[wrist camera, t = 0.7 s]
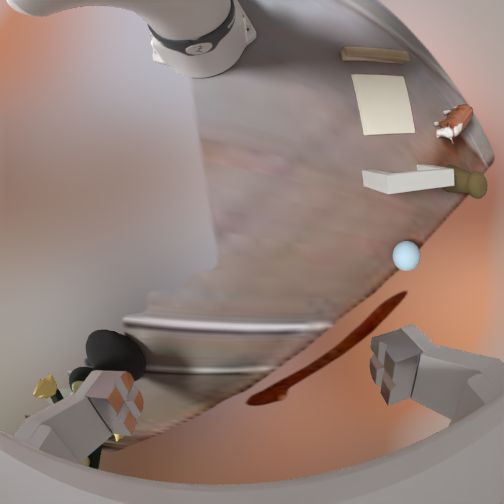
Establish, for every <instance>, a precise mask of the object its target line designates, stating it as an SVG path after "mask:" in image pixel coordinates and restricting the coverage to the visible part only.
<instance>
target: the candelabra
mask: <svg viewBox="0 0 504 504" xmlns="http://www.w3.org/2000/svg"><path fill="white" fill-rule="evenodd" d="M86 353H87V358H88V360H89V362H90V365H91V366H92V368H90V367H79V368H76V369H75V370H73V371H72V373H71V374H70V378H69V384H70V387H71V390H72V392H73V393H74V394H75V393H76V391H77V390H78V389H79V387H80V386H81V385H82V383H83V382H84V381H85V379H86V378H87V377H88V376H89V374H90V373H91V372H92V371H95V370H103V371H127V372H129V373H131V375H132V377H133V379H134V381H136V380H138V379H139V378H140V377H141V376H142V375H143V373H144V372H145V369H146V364H145V360H144V357H143V355H142V353H141V352H140V350H139V348H138V347H137V346H136V345H135V344H134V343H133V342H132V341H131V340H129V339H128V338H126V337H125V336H124V335H122V334H119V333H117V332H115V331H109V330H97V331H94V332H93V333H91V334H90V335H89V337H88V340H87V343H86ZM33 396H35V397H38V396H39V398H49V397H51V399H52V401H53V402H54V404H55V403H57V402H59V401H60V400H62V399H64V398H63V396H62V395H61V393H60V391H59V390H58V389H57V384H56V381H55V380H54V378H53V376H52V375H51V374H50V373H49V374H48V375H47V377H46V378H45V379H43V380H41V379H40V381H39V383H38V385H37V387H36V389H35V391H34V394H33ZM123 436H124V435H119V434H112V436H111V437H109V438H108V439H113V438H116V441H118V440H119V439H120V438H123ZM101 450H102V444H101V445H100V446H99V447H98V448H97V449H96V450H94V451H93V452H92V453H91V454H90V455H89V456H87V457H86V458H85V459H84V460H83V461H81V463H82V464H83V465H84V466H87V467H91V468H94V469H98V468H99V461H100V455H101Z"/></svg>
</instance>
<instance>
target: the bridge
mask: <svg viewBox="0 0 504 504" xmlns="http://www.w3.org/2000/svg"><path fill="white" fill-rule="evenodd" d="M362 174H363V182H364V186H365V187H368V188H371V189H374V190H377V191H380V192H383V193H386V194H394V193H401V192H409V191H416V190H423V189H431V188H439V187H447V186H455V185H454V169H451V168H445V167H439V166H433V165H426V164H420V165H417V171H410V172H401V173H389V172H384V171H379V170H373V169H369V170H362Z"/></svg>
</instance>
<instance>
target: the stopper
mask: <svg viewBox="0 0 504 504" xmlns="http://www.w3.org/2000/svg"><path fill="white" fill-rule="evenodd" d="M340 54H341V58H342V61H373V62H388V63H398V64H404V63H407V62H409V61H411V60H410V56H409V53H408V52H406V51H399V50H391V49H381V48H369V47H348V46H345V47H344V48H343V49H342V50H341V51H340Z"/></svg>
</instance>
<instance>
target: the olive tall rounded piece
mask: <svg viewBox="0 0 504 504" xmlns="http://www.w3.org/2000/svg"><path fill="white" fill-rule="evenodd" d="M445 168H451V169H454V185H455V186H447V187H443V189H444V190H445V191H447V192H458V193H469V194H470V195H471V196H472V197H474V198H482V197H483V196H484V195H485V194H486V191H487V181H486V178H485V177H484V175H483V174H481V173H480V172H472V173H470V172H467V171H465V170H462V169H460V168H457V167H455V166H452V165H446V166H445Z"/></svg>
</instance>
